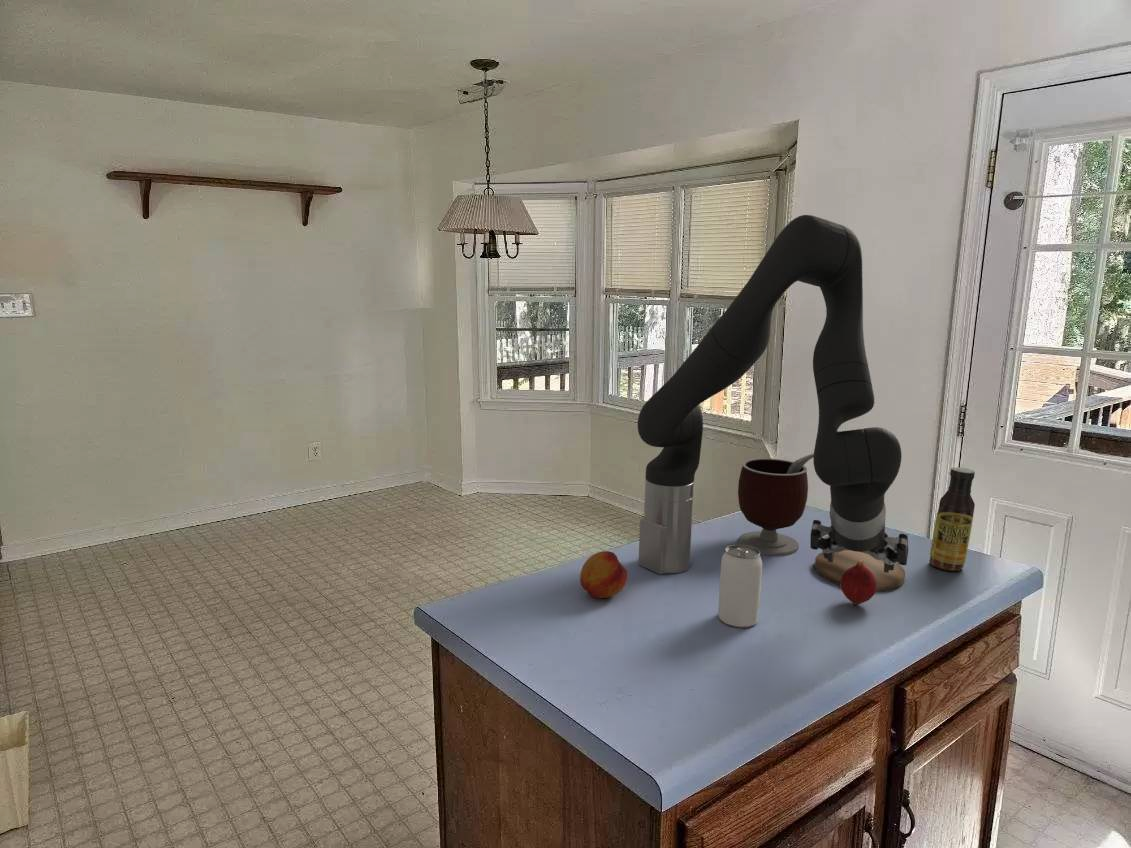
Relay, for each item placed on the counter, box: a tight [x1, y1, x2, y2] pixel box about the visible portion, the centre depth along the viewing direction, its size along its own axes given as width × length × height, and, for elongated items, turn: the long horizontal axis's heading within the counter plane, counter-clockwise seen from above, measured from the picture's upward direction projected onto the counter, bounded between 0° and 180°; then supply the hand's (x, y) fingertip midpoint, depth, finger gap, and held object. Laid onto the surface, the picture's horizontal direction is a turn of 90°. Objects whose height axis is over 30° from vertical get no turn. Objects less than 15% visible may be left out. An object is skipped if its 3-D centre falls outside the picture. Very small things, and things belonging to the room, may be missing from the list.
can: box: [717, 544, 763, 629], centre depth 118 cm, size 6×6×12 cm
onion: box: [839, 560, 877, 606], centre depth 125 cm, size 6×6×8 cm
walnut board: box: [814, 550, 906, 592], centre depth 139 cm, size 16×16×2 cm
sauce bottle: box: [929, 466, 976, 572], centre depth 140 cm, size 7×6×20 cm
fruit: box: [579, 550, 629, 599], centre depth 127 cm, size 8×8×8 cm
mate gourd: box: [737, 452, 814, 557], centre depth 151 cm, size 16×14×20 cm
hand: (858, 562), depth 119 cm, fingers open, 8 cm apart
